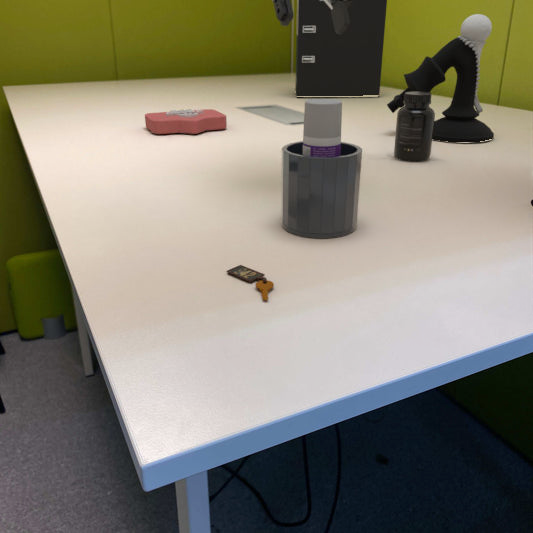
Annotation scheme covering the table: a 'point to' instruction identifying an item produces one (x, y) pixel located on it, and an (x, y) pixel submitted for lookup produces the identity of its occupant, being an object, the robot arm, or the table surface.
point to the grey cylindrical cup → (320, 191)
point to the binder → (339, 49)
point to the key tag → (253, 278)
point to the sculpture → (465, 98)
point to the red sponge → (185, 121)
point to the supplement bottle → (414, 128)
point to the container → (322, 128)
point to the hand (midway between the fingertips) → (316, 26)
